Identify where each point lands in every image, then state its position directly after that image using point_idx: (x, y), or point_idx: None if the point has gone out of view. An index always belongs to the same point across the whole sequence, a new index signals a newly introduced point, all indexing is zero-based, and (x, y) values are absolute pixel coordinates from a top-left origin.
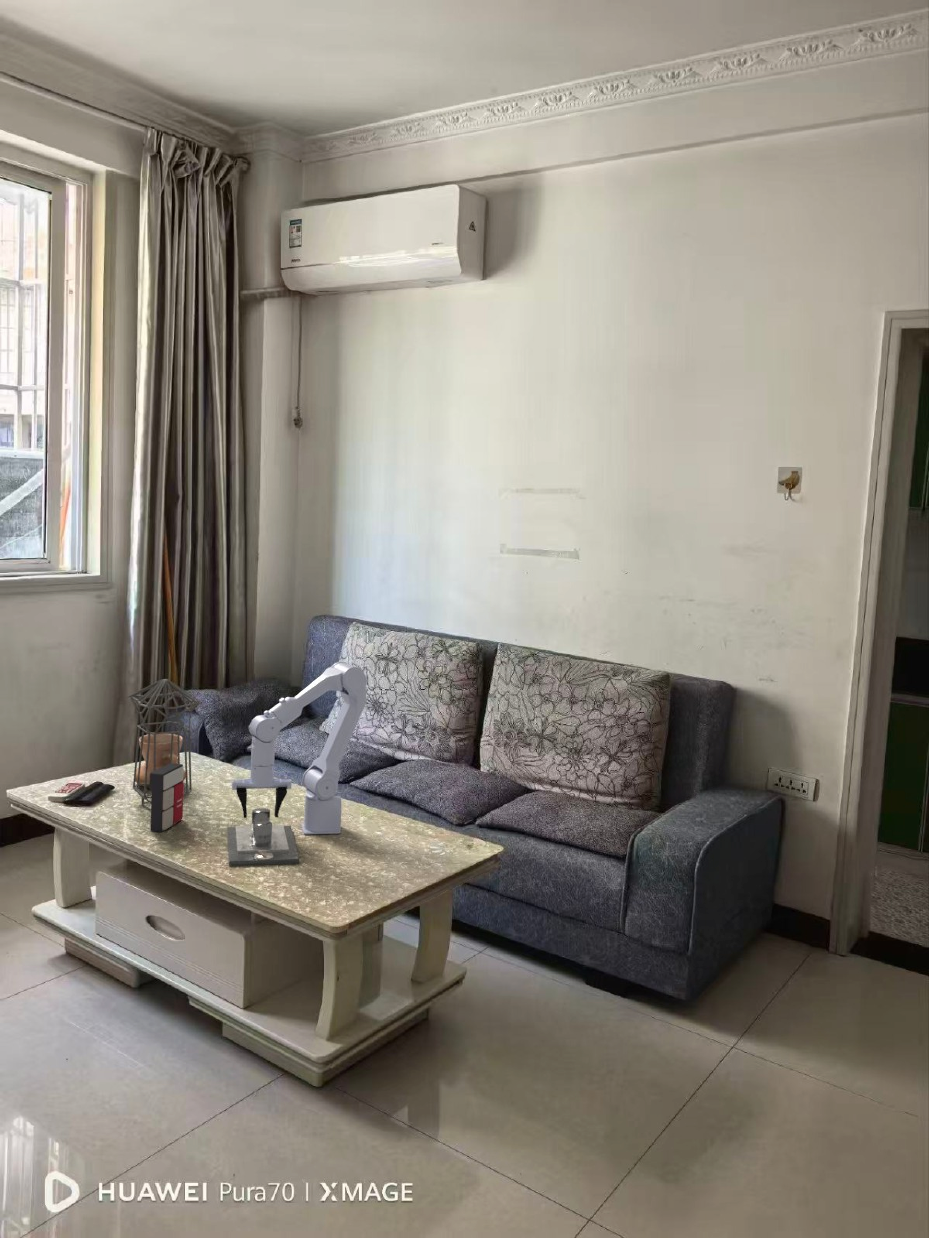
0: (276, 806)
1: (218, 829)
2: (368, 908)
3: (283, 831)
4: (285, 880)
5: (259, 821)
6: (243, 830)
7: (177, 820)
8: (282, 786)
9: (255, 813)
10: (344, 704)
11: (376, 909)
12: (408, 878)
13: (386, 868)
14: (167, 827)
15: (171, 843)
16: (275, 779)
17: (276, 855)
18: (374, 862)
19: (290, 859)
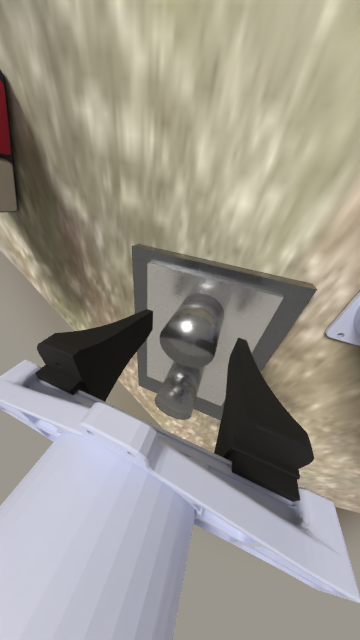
0: (226, 391)
1: (118, 218)
2: None
3: (254, 341)
4: (194, 428)
5: (167, 396)
6: (163, 301)
7: (4, 130)
8: (255, 494)
9: (167, 353)
10: None
11: None
12: (339, 496)
13: (340, 478)
14: (14, 195)
15: (59, 281)
16: (227, 511)
17: (199, 401)
18: (343, 465)
19: (213, 416)
